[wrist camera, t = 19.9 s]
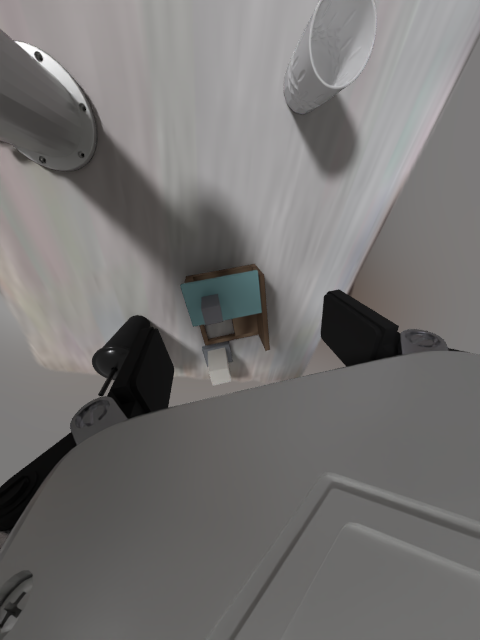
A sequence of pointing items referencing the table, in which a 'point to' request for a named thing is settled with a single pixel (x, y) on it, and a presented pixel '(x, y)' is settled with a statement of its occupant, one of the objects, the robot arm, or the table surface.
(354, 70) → the white cup
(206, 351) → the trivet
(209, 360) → the block
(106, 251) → the table surface
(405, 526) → the robot arm
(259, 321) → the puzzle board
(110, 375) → the drinking cup
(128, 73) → the table surface
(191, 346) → the table surface
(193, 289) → the cover
